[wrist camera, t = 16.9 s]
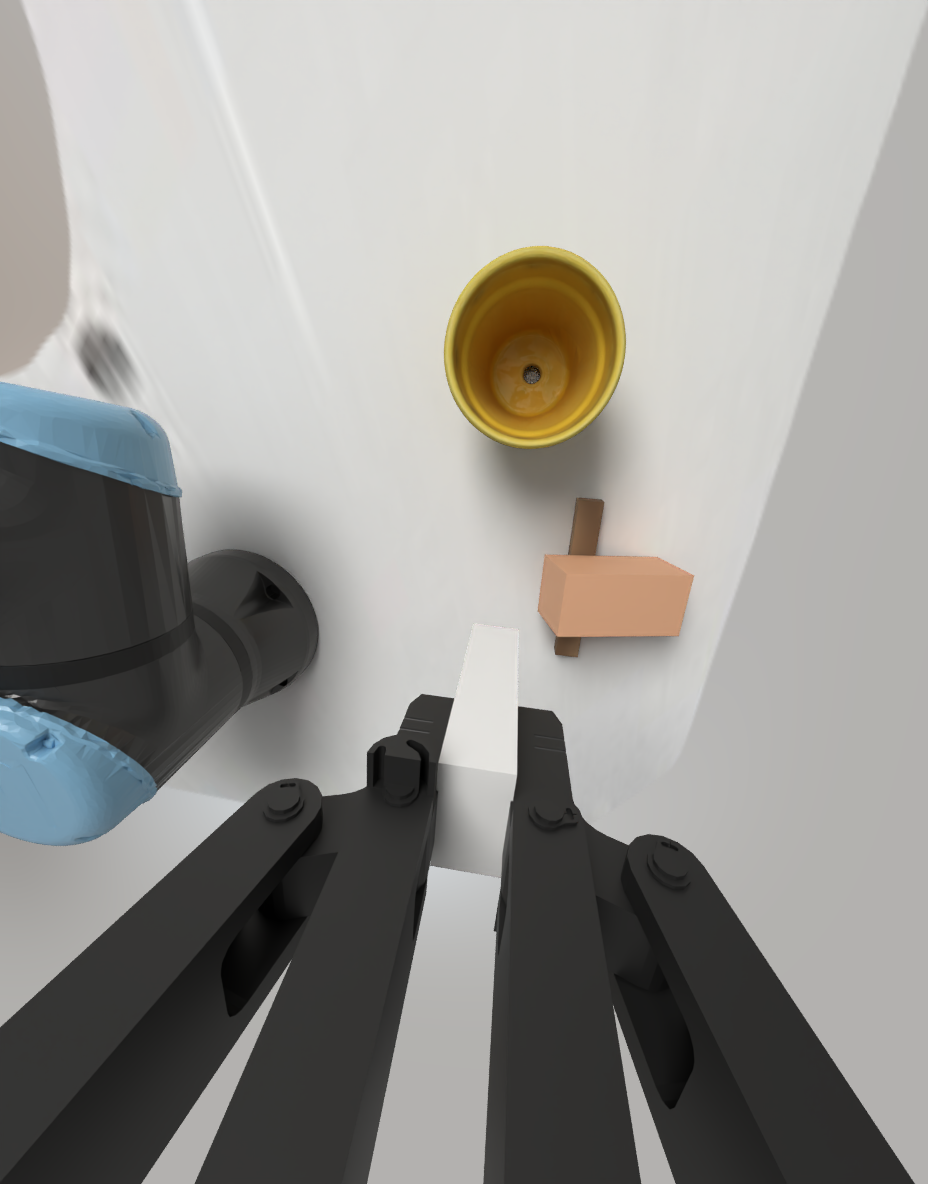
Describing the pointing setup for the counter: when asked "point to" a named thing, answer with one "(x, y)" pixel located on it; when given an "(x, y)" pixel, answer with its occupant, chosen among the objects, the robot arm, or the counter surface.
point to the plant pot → (534, 347)
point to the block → (613, 596)
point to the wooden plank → (581, 544)
